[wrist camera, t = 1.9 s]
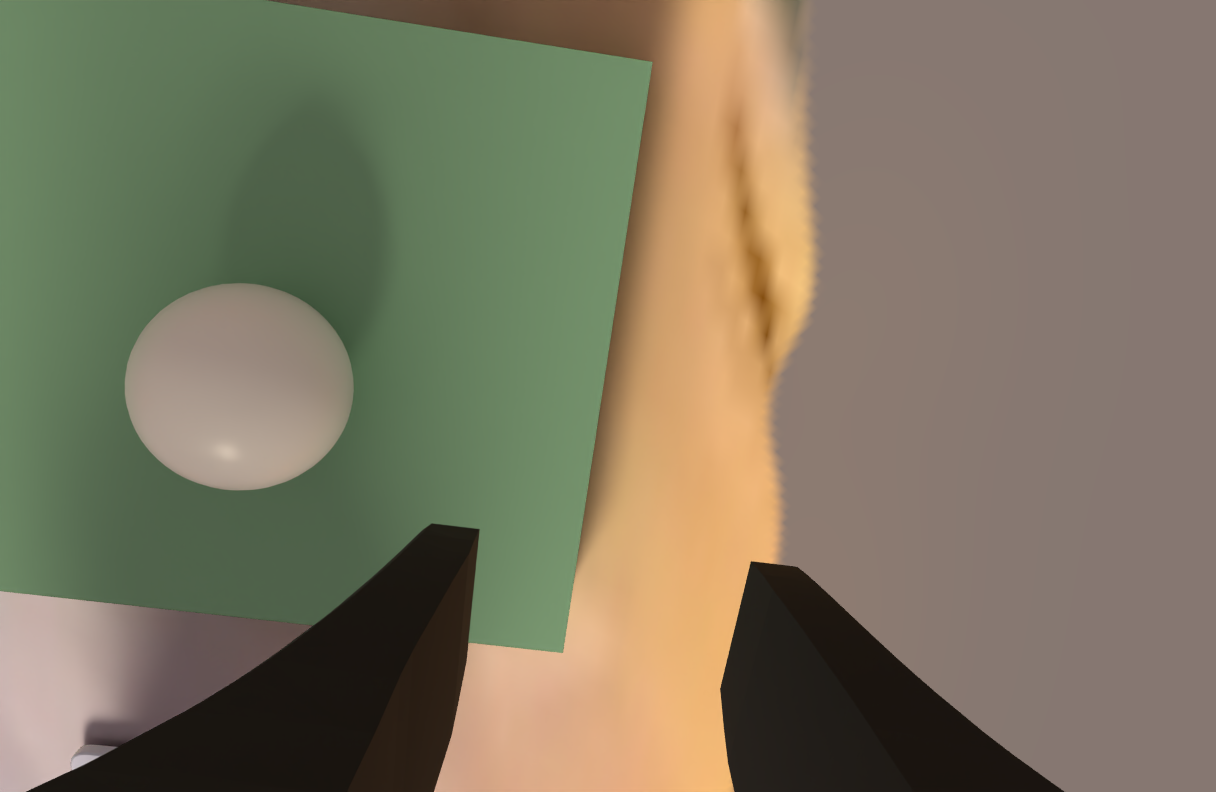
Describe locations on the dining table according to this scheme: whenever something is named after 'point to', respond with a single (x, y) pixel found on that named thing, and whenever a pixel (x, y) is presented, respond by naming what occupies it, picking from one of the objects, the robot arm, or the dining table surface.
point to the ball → (239, 386)
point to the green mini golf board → (308, 294)
